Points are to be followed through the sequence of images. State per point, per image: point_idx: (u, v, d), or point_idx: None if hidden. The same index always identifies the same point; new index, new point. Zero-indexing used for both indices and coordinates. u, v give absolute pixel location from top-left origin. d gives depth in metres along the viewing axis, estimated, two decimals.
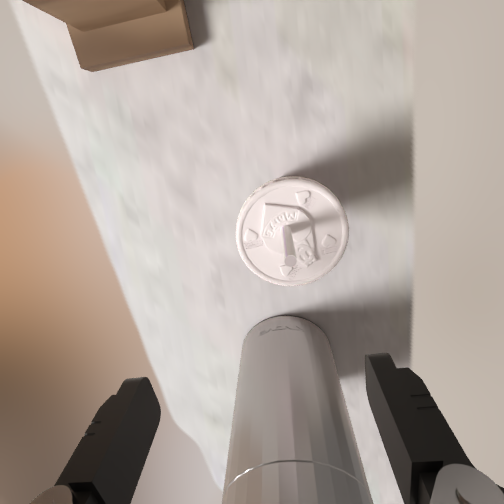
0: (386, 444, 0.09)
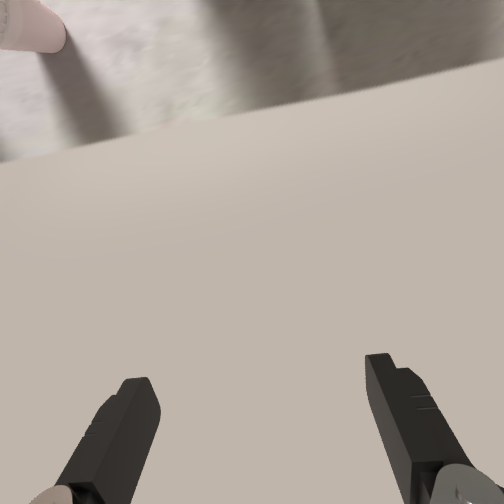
0: (386, 444, 0.09)
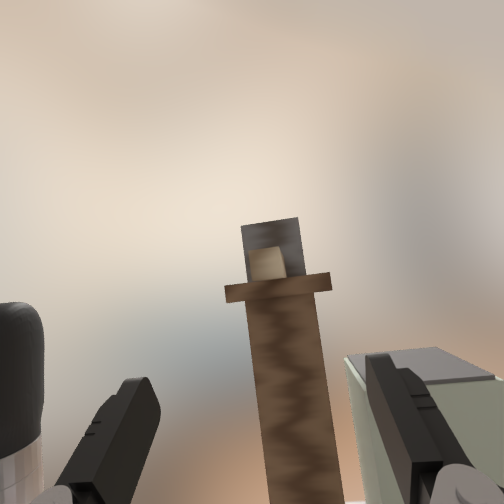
0: (386, 444, 0.09)
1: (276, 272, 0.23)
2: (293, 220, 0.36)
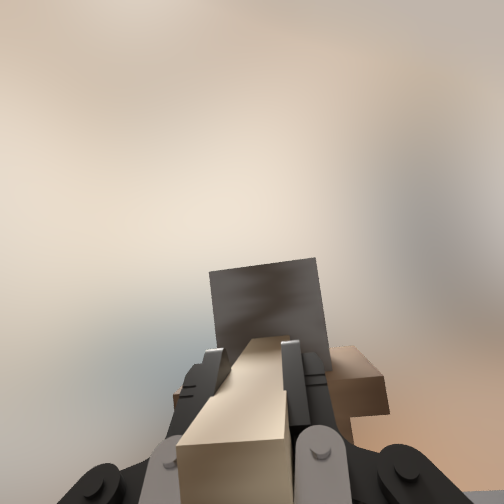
0: None
1: None
2: (307, 263, 0.19)
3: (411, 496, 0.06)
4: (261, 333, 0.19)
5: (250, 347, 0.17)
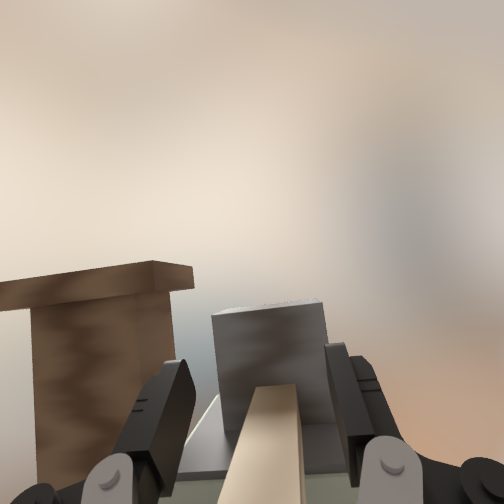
0: (338, 425, 0.10)
1: None
2: (313, 308, 0.19)
3: None
4: (266, 381, 0.18)
5: (255, 404, 0.16)
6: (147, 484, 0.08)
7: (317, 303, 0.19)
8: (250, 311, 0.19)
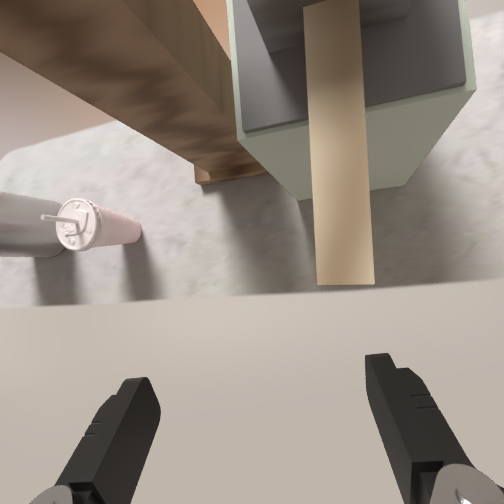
0: (386, 444, 0.09)
1: None
2: None
3: None
4: None
5: (312, 62, 0.14)
6: None
7: None
8: None
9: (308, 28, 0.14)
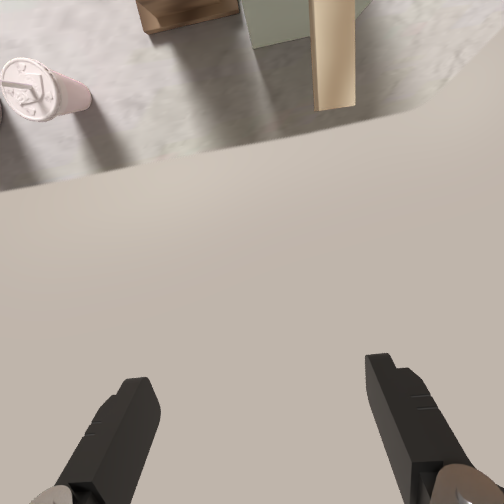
0: (386, 444, 0.09)
1: None
2: None
3: None
4: None
5: None
6: None
7: None
8: None
9: None
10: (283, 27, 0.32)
